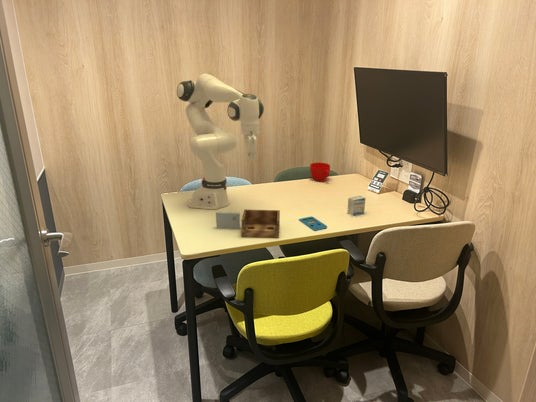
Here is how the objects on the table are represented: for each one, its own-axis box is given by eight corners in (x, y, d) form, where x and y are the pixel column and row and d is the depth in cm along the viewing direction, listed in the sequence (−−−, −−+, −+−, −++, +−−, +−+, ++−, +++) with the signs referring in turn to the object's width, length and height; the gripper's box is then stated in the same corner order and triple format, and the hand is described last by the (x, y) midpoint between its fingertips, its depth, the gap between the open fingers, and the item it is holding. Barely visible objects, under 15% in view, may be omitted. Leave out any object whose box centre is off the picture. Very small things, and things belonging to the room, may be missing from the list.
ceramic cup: (319, 185, 248) (320, 170, 244) (305, 178, 262) (306, 163, 258) (336, 183, 253) (337, 168, 249) (322, 175, 267) (323, 161, 263)
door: (216, 229, 187) (215, 213, 184) (217, 226, 190) (216, 211, 187) (239, 229, 187) (238, 214, 184) (239, 227, 189) (239, 212, 186)
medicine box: (352, 216, 203) (353, 200, 200) (346, 213, 206) (348, 197, 203) (364, 213, 206) (365, 197, 203) (358, 210, 210) (360, 195, 207)
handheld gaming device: (314, 229, 185) (298, 218, 198) (314, 232, 185) (298, 220, 198) (329, 226, 189) (312, 215, 201) (329, 228, 189) (312, 217, 201)
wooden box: (241, 236, 179) (241, 220, 177) (244, 224, 192) (244, 209, 189) (278, 237, 179) (279, 221, 176) (279, 225, 191) (279, 210, 188)
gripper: (259, 133, 177) (260, 163, 182) (254, 126, 196) (254, 153, 201) (245, 134, 176) (246, 164, 181) (241, 126, 195) (242, 153, 200)
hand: (251, 158), depth 191 cm, fingers open, 8 cm apart
